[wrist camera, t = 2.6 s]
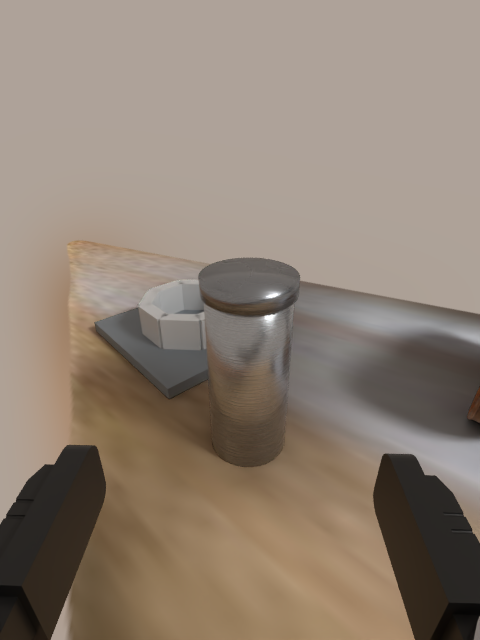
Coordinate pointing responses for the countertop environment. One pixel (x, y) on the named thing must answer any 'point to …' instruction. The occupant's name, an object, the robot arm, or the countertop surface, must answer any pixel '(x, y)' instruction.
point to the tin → (475, 408)
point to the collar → (163, 336)
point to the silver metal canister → (248, 355)
